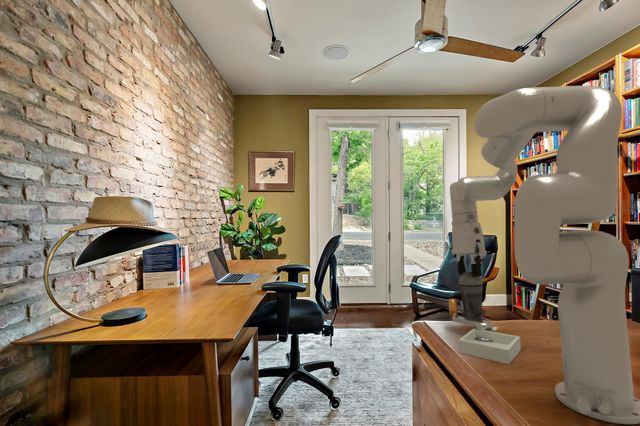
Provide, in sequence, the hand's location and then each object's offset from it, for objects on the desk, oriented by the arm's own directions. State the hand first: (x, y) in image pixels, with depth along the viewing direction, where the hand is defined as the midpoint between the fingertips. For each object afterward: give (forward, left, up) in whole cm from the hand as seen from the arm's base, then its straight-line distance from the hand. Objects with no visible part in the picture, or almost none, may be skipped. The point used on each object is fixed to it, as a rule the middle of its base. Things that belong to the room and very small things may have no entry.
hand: (469, 274), depth 100 cm
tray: (-15, -9, -17) cm, 24 cm away
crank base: (-7, -5, -17) cm, 19 cm away
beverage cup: (0, 0, -15) cm, 15 cm away
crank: (-6, -1, -14) cm, 15 cm away
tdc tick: (+4, -5, -17) cm, 18 cm away
